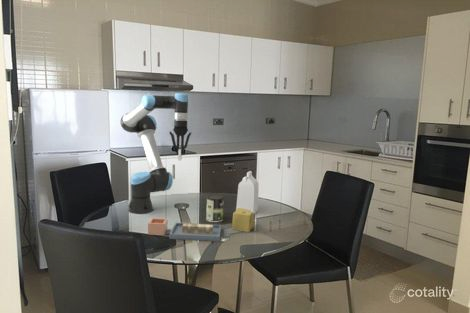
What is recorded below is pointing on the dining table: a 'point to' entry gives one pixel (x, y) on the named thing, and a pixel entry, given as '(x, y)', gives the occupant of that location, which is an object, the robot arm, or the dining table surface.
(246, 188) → the milk
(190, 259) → the dining table surface
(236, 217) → the cheese
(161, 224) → the pink open cubby
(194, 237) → the slate tray
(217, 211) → the coffee can
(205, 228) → the light wooden bar
